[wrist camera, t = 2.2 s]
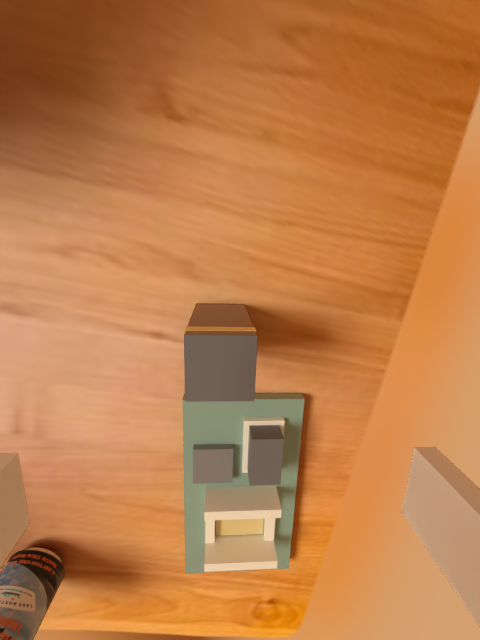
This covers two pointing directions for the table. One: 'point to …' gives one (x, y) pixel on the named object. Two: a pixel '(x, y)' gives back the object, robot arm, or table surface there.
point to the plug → (220, 354)
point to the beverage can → (27, 591)
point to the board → (241, 481)
